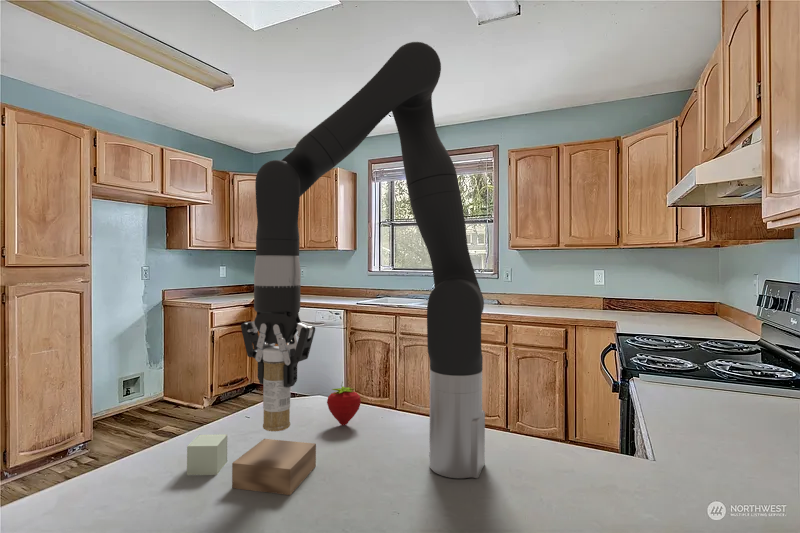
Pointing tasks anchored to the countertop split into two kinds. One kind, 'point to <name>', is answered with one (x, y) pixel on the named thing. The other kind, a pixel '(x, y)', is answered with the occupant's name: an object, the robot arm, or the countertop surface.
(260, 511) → the countertop surface
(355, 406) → the strawberry
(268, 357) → the sprinkles bottle
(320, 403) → the countertop surface
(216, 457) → the sage cube
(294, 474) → the walnut block
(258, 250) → the robot arm
